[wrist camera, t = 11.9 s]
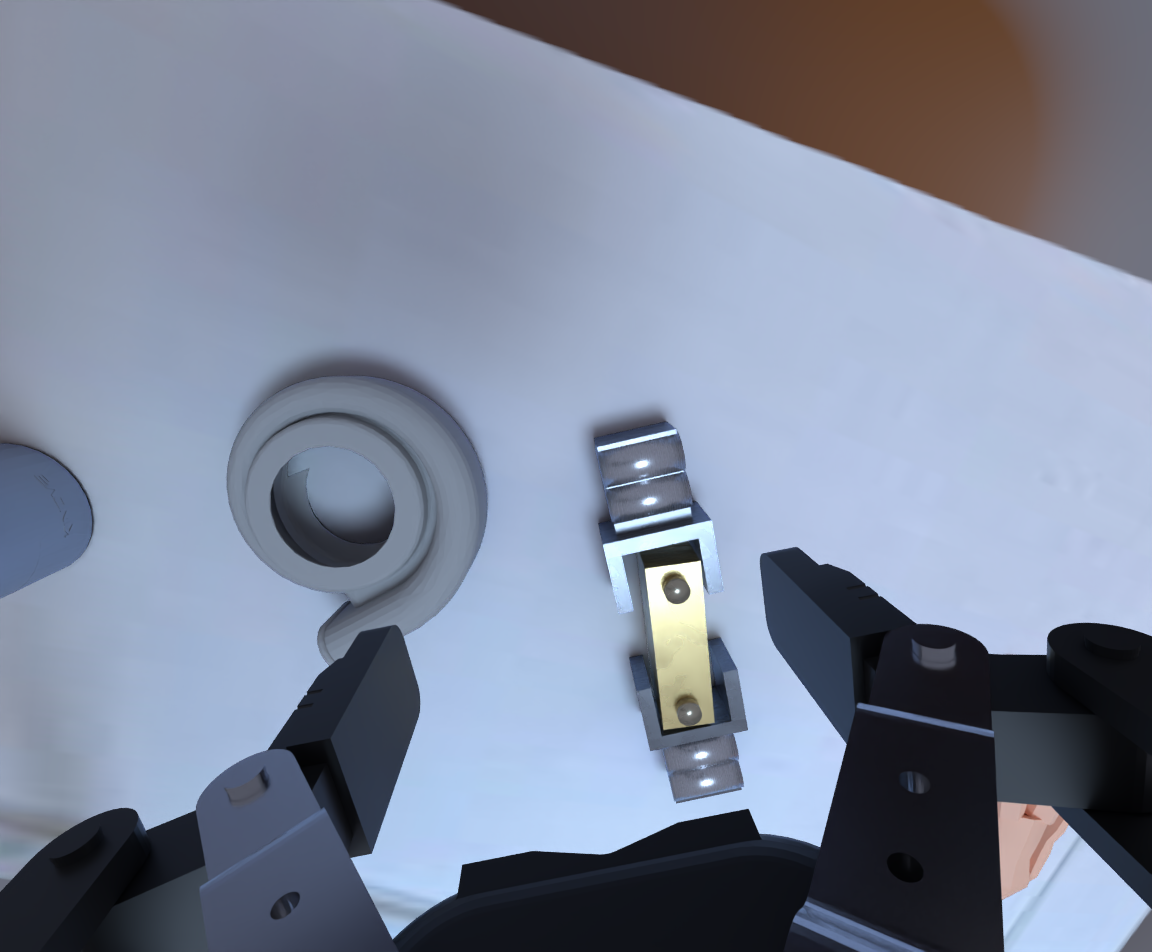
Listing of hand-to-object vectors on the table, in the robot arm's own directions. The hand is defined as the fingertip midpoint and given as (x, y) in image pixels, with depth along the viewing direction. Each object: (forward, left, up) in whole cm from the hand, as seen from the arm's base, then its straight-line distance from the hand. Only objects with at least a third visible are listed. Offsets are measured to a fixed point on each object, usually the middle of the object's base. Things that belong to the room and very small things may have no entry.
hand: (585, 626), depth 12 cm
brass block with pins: (+4, -15, -26) cm, 30 cm away
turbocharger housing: (-13, -2, -26) cm, 29 cm away
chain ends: (+4, -15, -26) cm, 30 cm away
